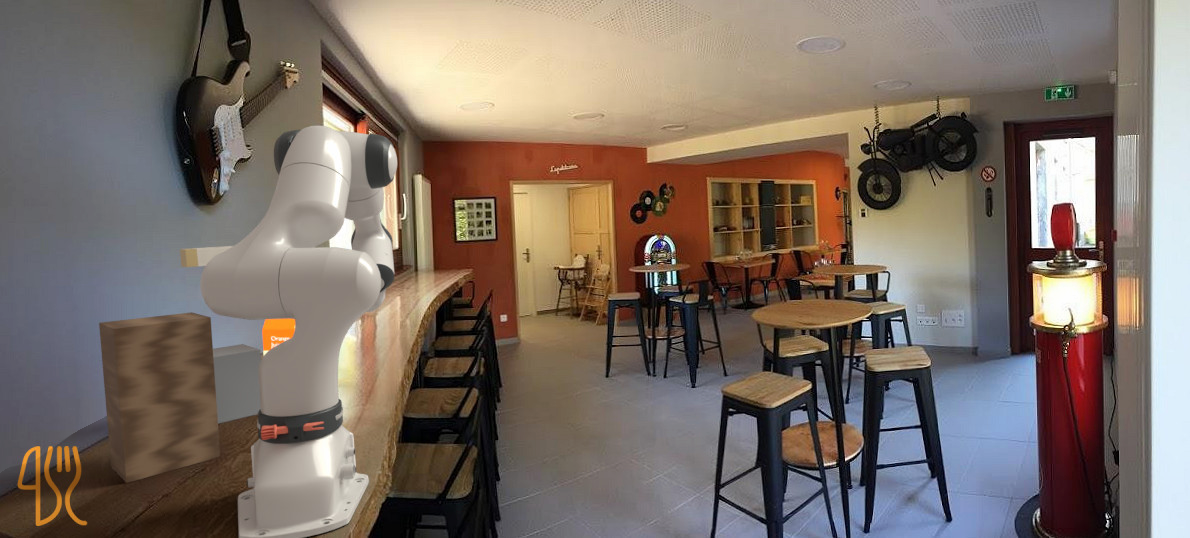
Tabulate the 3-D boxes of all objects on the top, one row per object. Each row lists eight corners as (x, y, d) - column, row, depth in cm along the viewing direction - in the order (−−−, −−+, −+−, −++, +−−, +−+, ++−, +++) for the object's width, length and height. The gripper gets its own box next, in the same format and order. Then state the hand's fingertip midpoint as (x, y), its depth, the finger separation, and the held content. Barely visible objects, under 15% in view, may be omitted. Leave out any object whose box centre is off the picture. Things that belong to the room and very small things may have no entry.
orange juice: (297, 381, 163) (292, 308, 161) (264, 381, 163) (260, 308, 161) (311, 374, 171) (307, 304, 169) (280, 374, 171) (276, 304, 169)
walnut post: (201, 444, 118) (191, 312, 115) (220, 456, 111) (210, 317, 109) (111, 467, 107) (99, 322, 105) (126, 483, 100) (113, 328, 98)
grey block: (246, 404, 143) (242, 344, 142) (264, 412, 137) (260, 349, 135) (198, 415, 135) (193, 351, 134) (214, 424, 129) (210, 357, 128)
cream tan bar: (281, 258, 140) (280, 242, 140) (288, 258, 138) (287, 243, 137) (181, 266, 125) (179, 249, 125) (187, 267, 123) (185, 249, 122)
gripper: (307, 261, 153) (255, 236, 143) (347, 265, 140) (292, 238, 130) (296, 284, 151) (242, 260, 142) (336, 290, 138) (279, 264, 128)
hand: (266, 249), depth 136 cm, fingers closed on cream tan bar, 4 cm apart
